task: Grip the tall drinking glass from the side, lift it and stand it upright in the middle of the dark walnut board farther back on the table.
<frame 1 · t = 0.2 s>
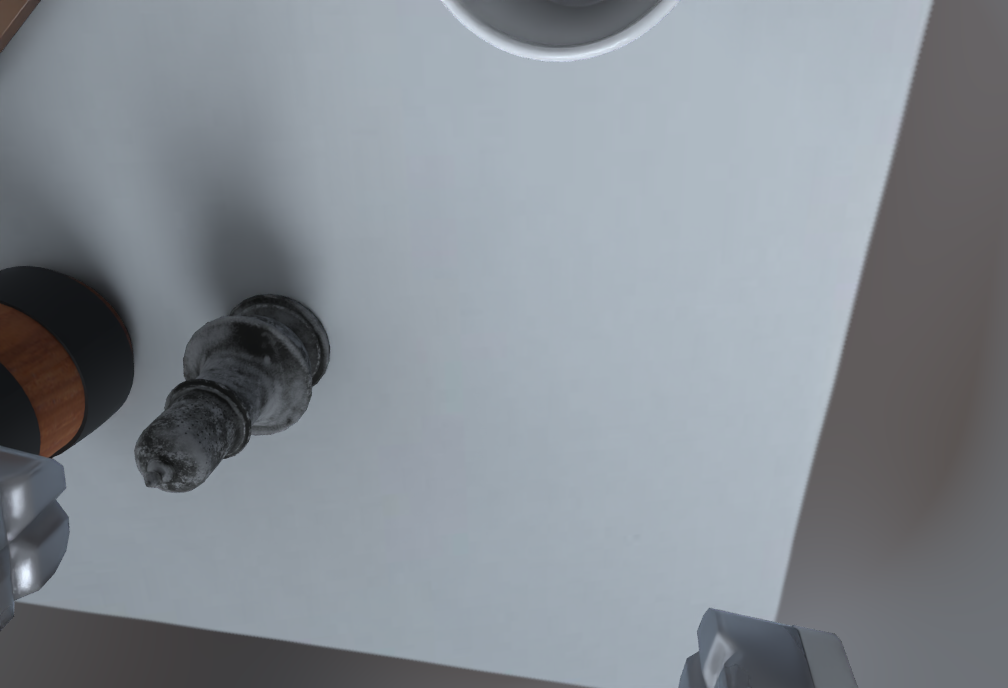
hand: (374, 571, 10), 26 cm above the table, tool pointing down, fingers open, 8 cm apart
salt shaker: (278, 343, 38), on the table
mug: (66, 370, 40), on the table
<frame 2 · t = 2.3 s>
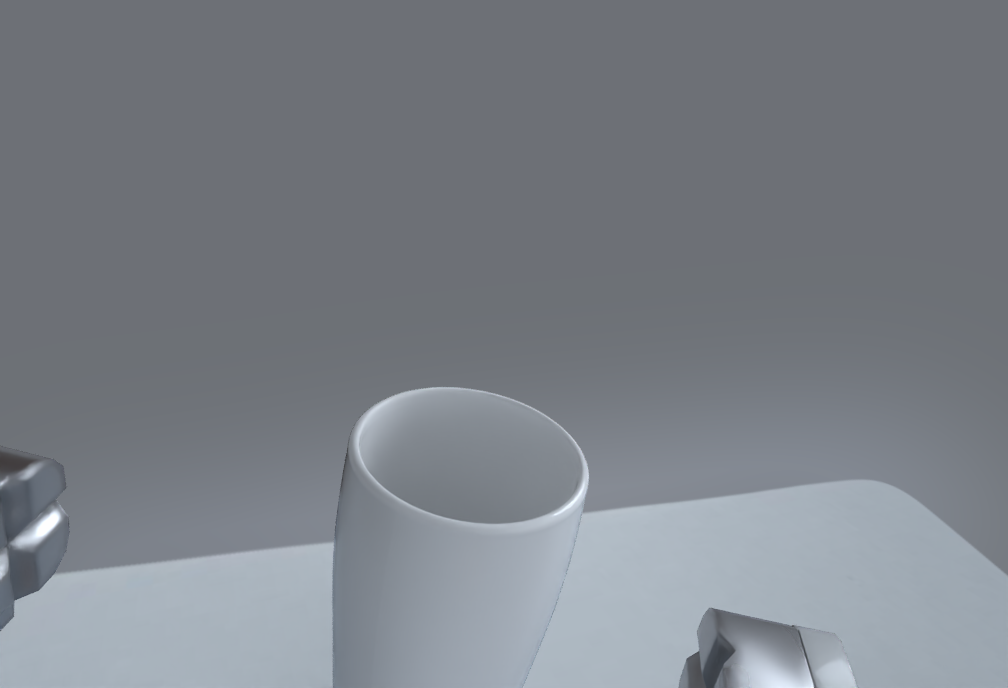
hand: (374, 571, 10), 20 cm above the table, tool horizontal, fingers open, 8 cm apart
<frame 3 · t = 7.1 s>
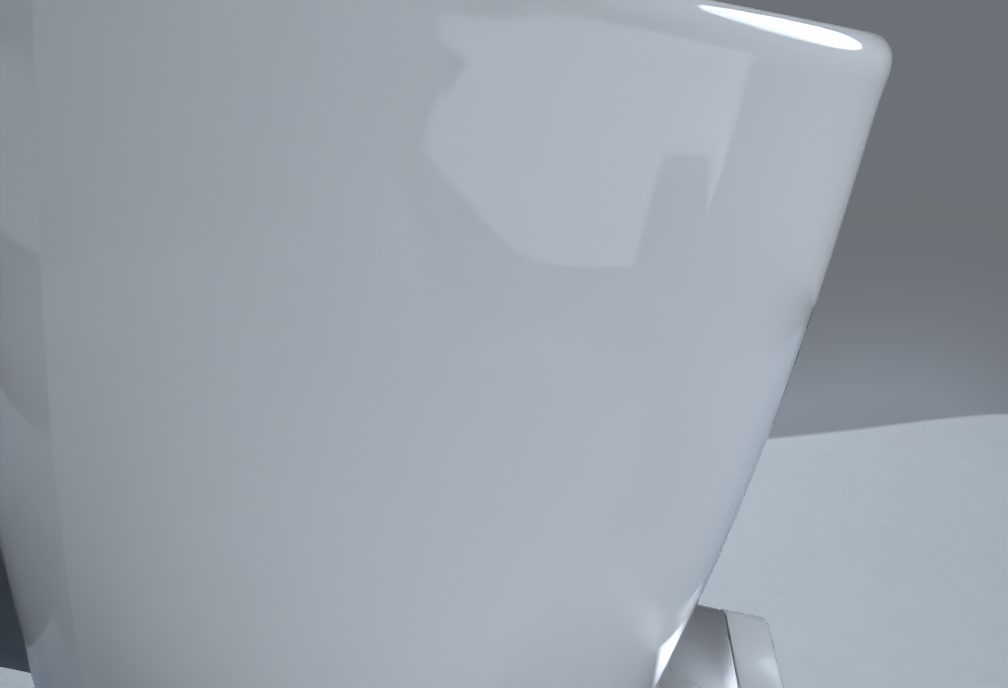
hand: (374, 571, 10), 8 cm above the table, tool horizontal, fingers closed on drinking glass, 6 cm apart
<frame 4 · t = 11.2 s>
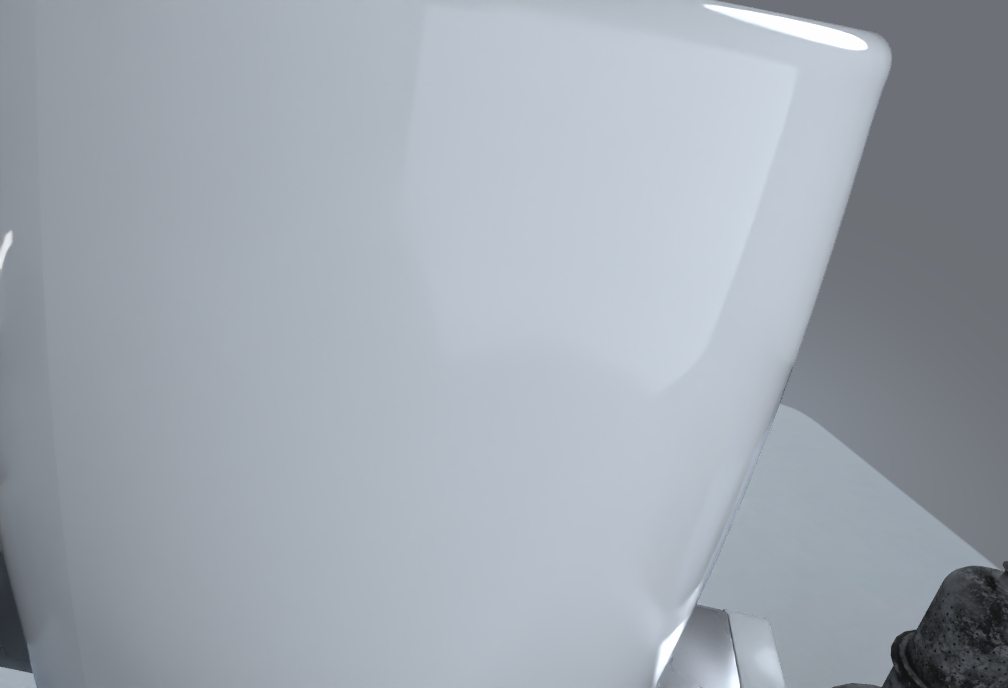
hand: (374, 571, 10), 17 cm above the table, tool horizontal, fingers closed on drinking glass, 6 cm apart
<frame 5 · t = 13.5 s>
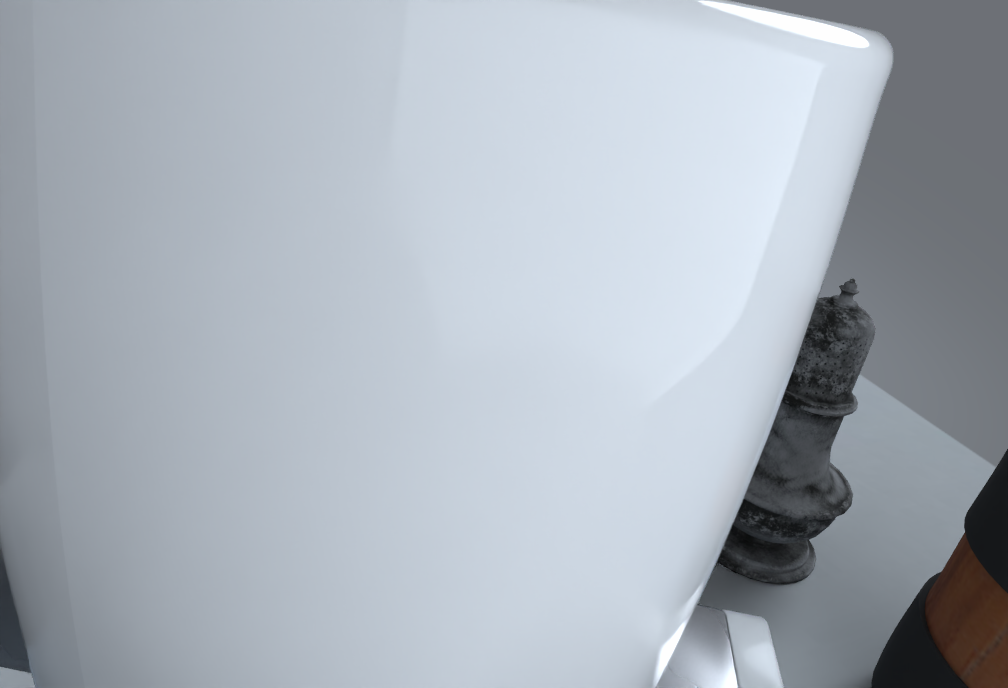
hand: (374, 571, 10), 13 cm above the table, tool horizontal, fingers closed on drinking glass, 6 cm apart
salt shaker: (750, 542, 34), on the table
when the fingers open (9 cm above the table, at t = 15.4 s): drinking glass stays where it is, resting on walnut board.
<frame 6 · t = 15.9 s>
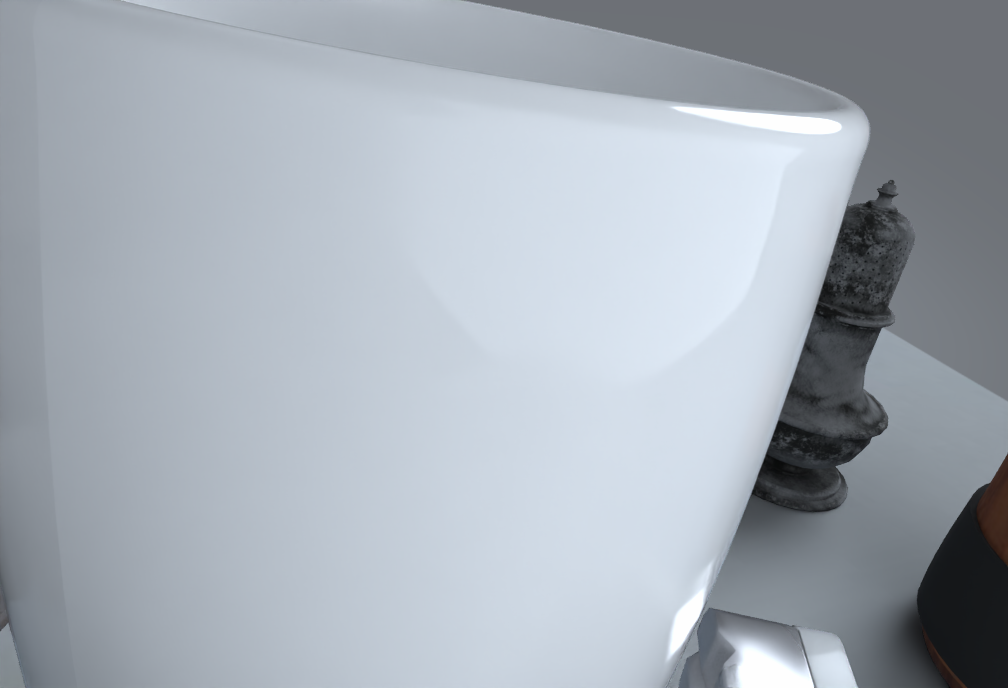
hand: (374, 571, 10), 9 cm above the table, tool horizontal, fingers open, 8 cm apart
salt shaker: (778, 473, 32), on the table
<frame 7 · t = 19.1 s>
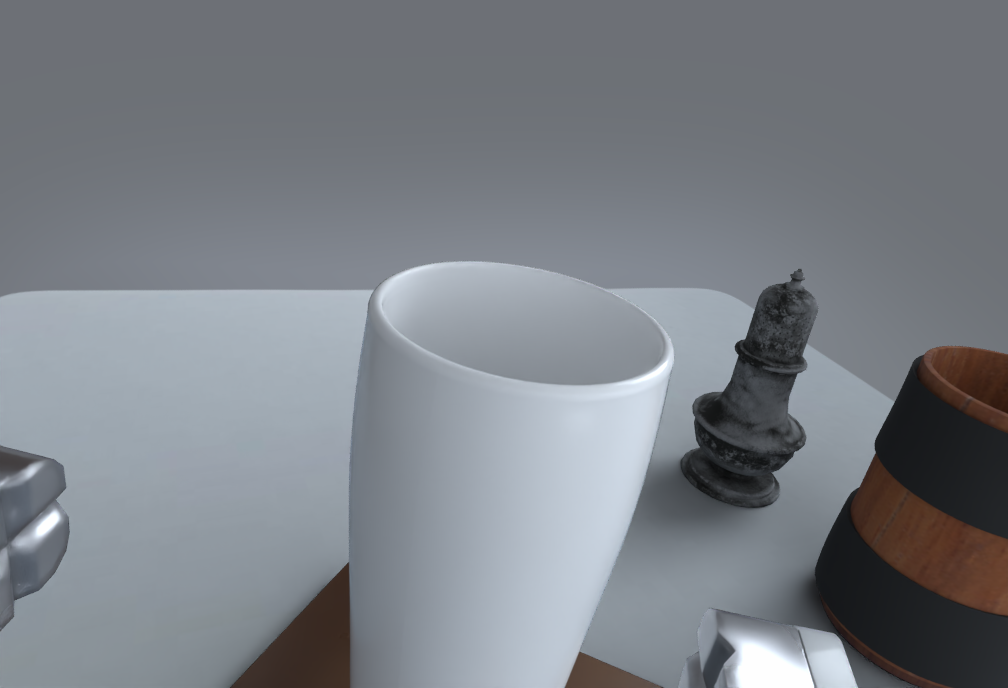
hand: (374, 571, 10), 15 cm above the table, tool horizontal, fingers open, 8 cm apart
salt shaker: (728, 479, 43), on the table
mug: (937, 623, 35), on the table
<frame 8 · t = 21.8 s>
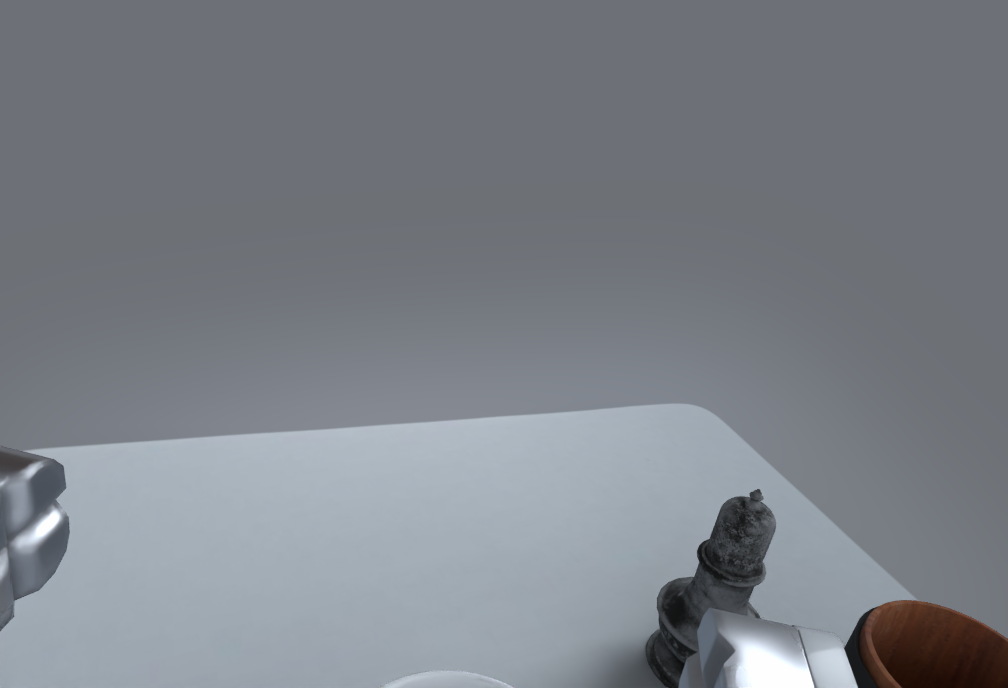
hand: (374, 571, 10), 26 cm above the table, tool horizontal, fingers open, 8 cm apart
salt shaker: (691, 665, 44), on the table
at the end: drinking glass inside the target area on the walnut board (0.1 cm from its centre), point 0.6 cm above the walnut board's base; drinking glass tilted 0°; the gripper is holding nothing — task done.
